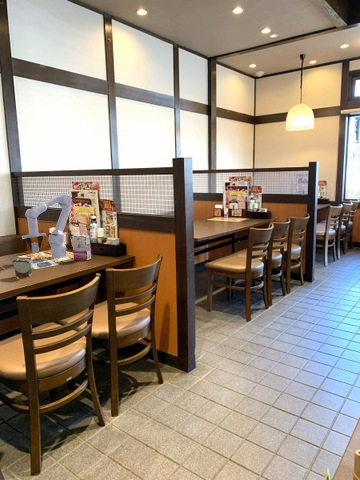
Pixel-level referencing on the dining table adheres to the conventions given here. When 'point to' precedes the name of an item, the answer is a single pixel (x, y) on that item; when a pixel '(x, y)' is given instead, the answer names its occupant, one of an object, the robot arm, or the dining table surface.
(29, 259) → the food container
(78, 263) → the dining table surface
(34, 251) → the plug
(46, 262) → the panel
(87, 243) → the candy bar box
